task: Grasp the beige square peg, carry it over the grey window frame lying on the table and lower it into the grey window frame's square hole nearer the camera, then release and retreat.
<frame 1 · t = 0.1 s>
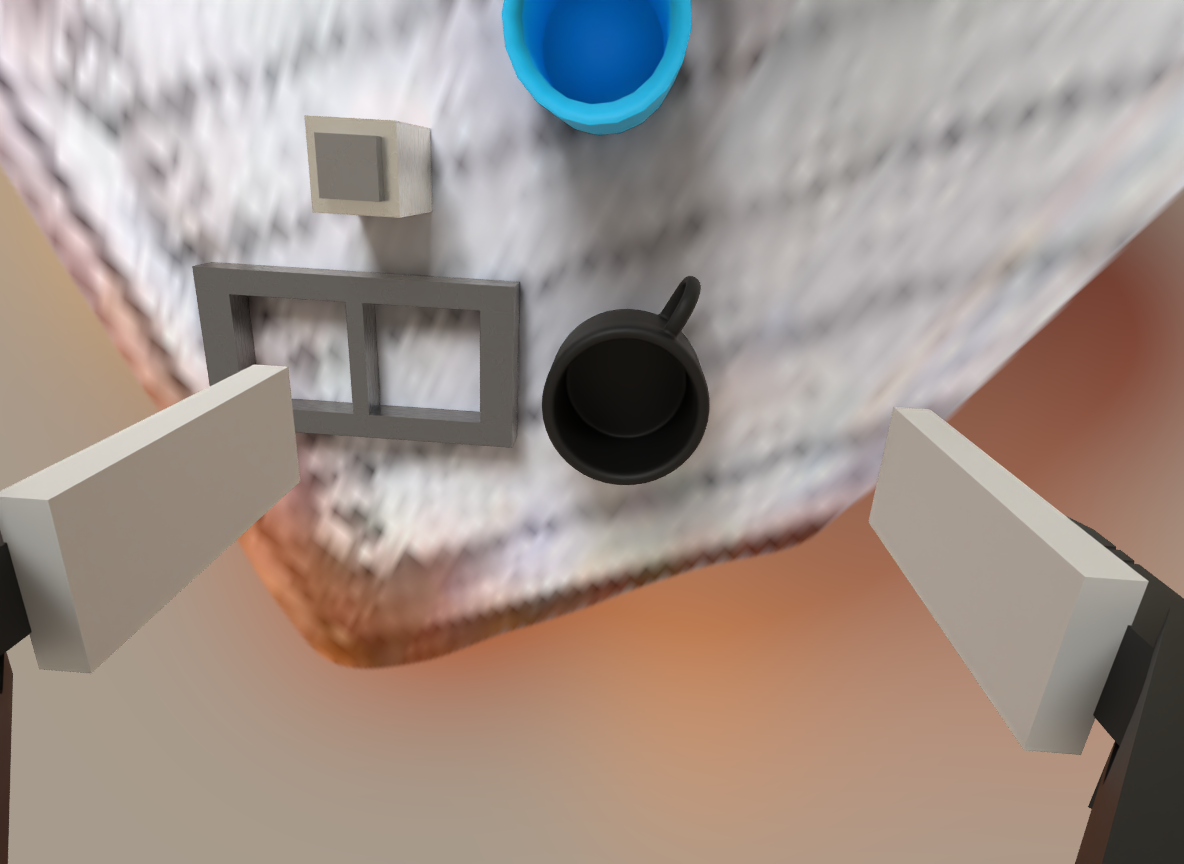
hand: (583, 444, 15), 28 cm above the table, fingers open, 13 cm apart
grey window frame: (369, 352, 44), on the table
mug: (627, 22, 37), on the table
beige square peg: (392, 168, 40), on the table
mug 2: (638, 353, 43), on the table
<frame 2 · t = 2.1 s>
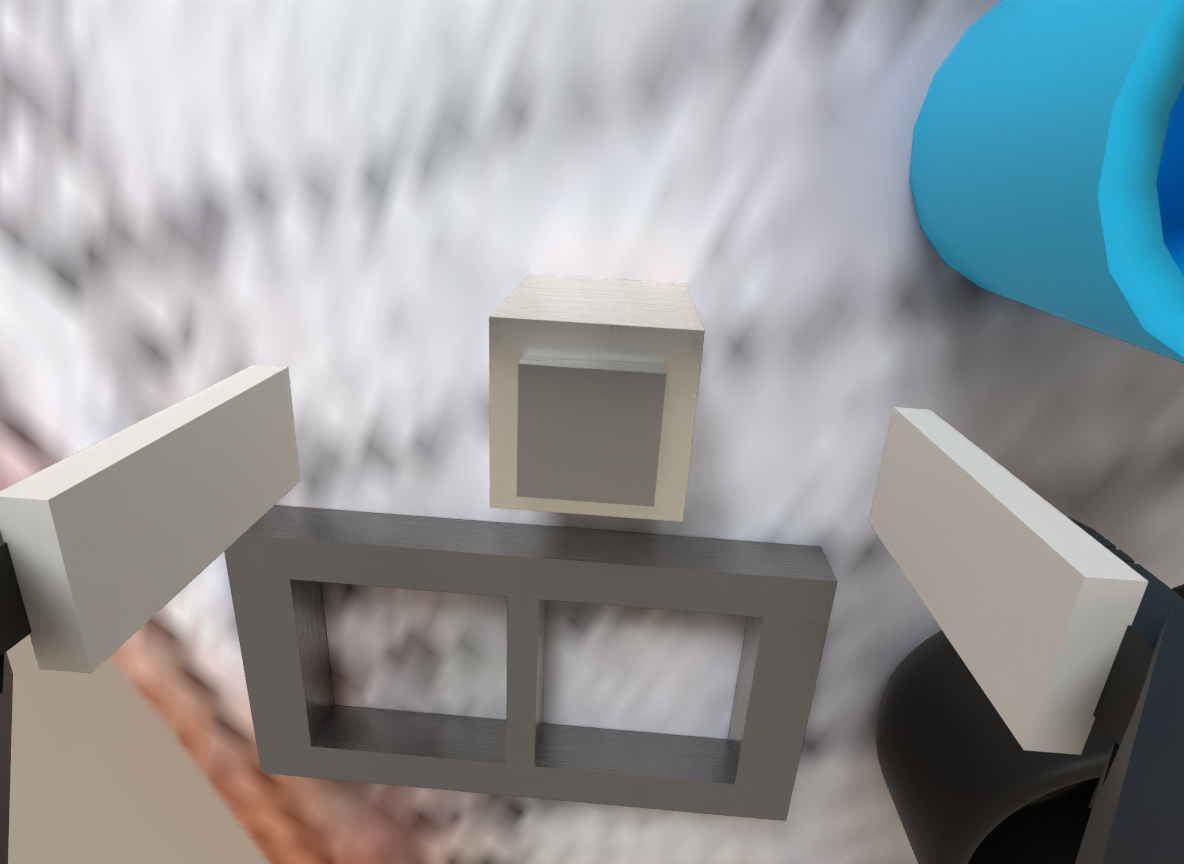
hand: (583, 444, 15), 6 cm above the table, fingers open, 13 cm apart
grey window frame: (530, 647, 25), on the table
mug: (1132, 79, 18), on the table
beige square peg: (603, 353, 21), on the table
mug 2: (1016, 658, 24), on the table
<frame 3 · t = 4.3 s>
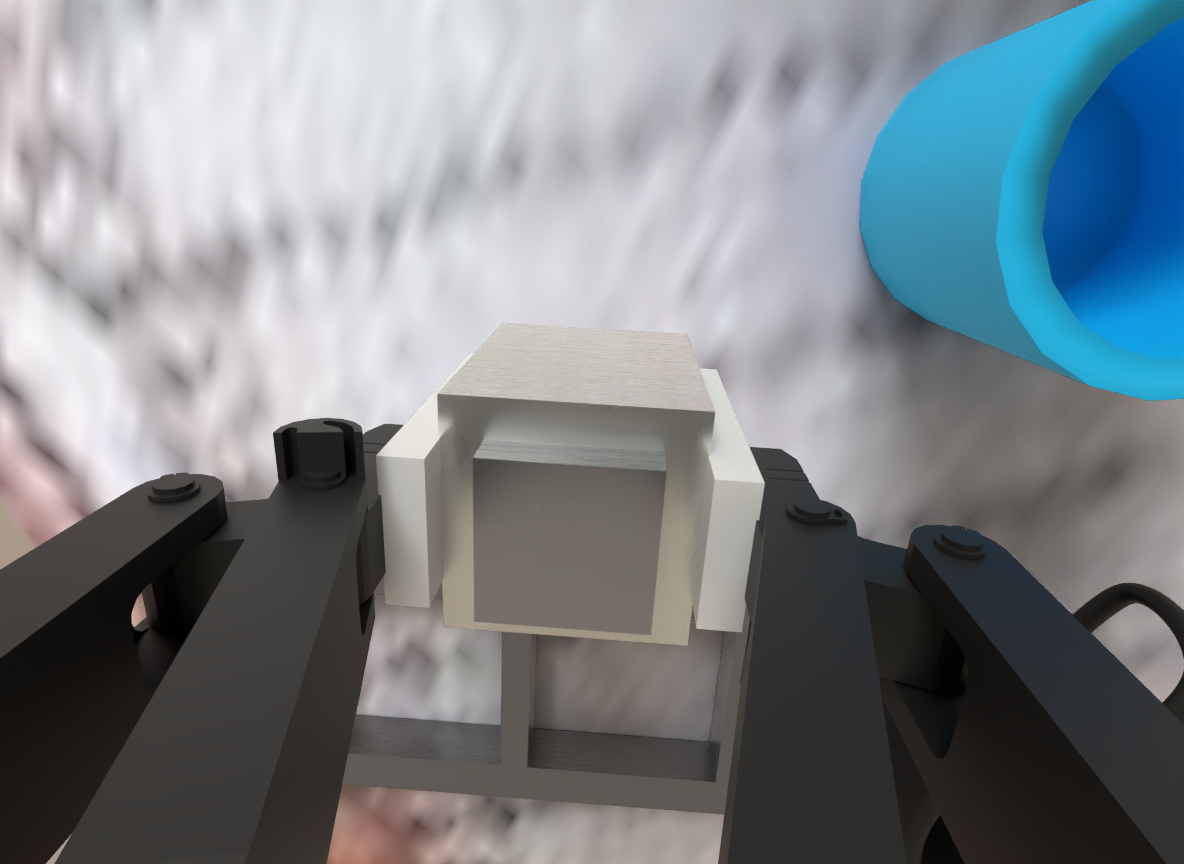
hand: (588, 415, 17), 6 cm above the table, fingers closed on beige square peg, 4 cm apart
grey window frame: (523, 653, 26), on the table
mug: (1047, 140, 20), on the table
beige square peg: (589, 416, 18), point 5 cm above the table, touching gripper
mug 2: (973, 660, 26), on the table
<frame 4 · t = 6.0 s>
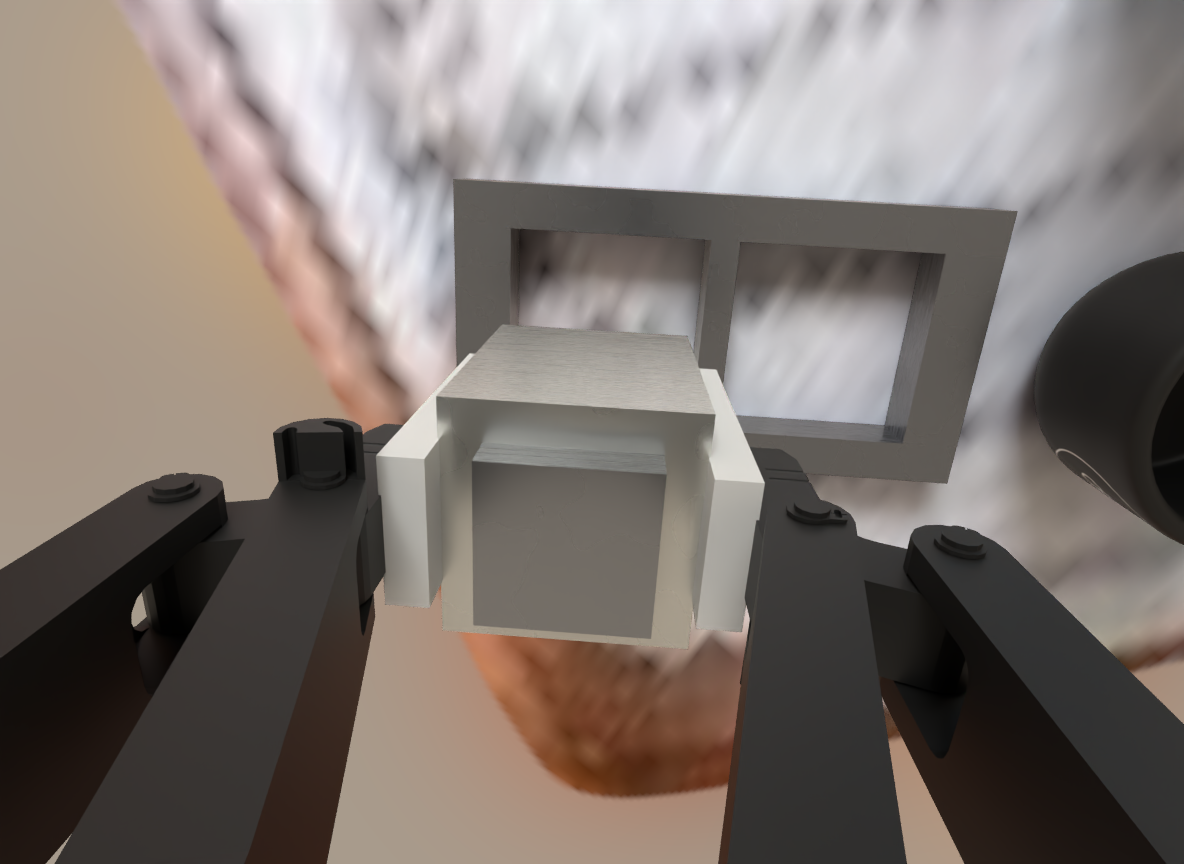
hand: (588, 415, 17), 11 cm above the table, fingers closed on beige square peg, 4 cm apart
grey window frame: (708, 328, 27), on the table
beige square peg: (589, 418, 17), point 10 cm above the table, touching gripper
mug 2: (1158, 329, 26), on the table
when the fingers open (2 cm above the table, at t = 7.6 s): beige square peg drops 2 cm, resting in grey window frame.
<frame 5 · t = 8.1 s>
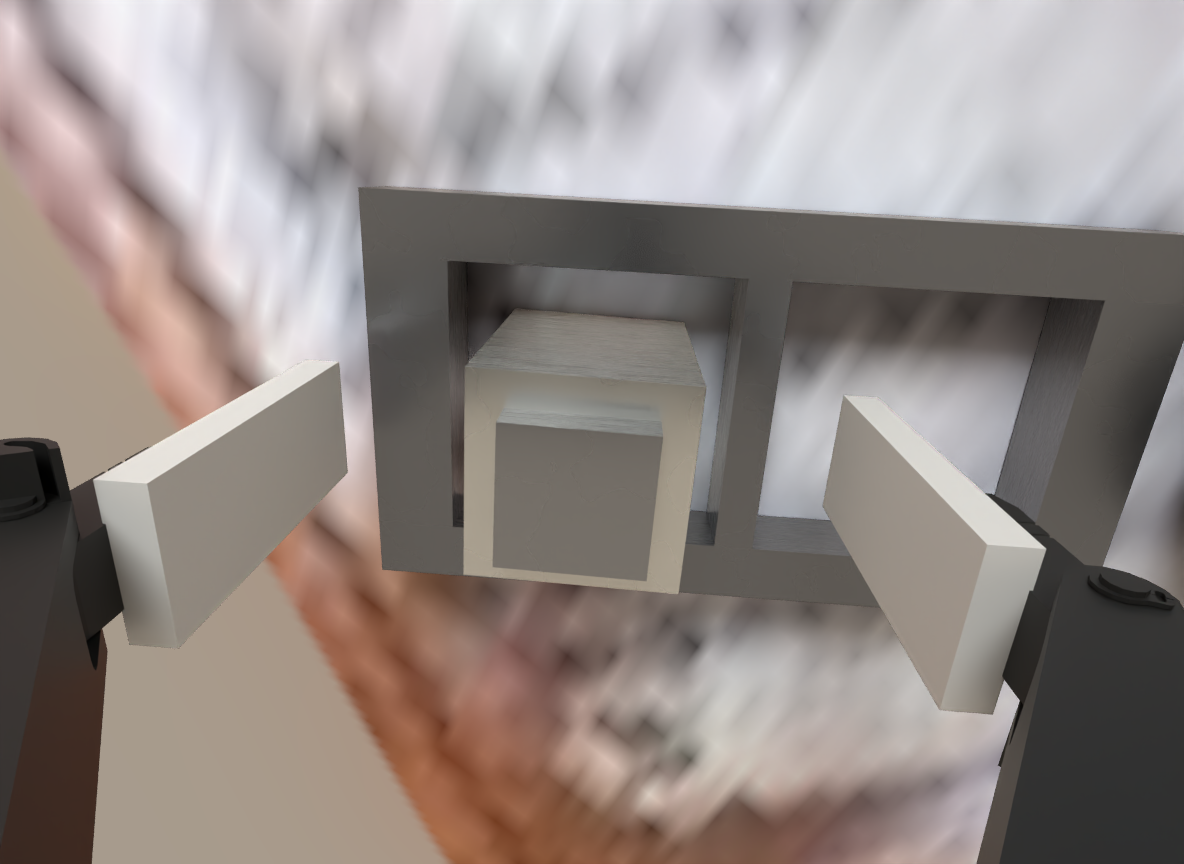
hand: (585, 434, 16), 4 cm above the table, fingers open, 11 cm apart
grey window frame: (739, 398, 19), on the table
beige square peg: (593, 395, 19), resting in grey window frame
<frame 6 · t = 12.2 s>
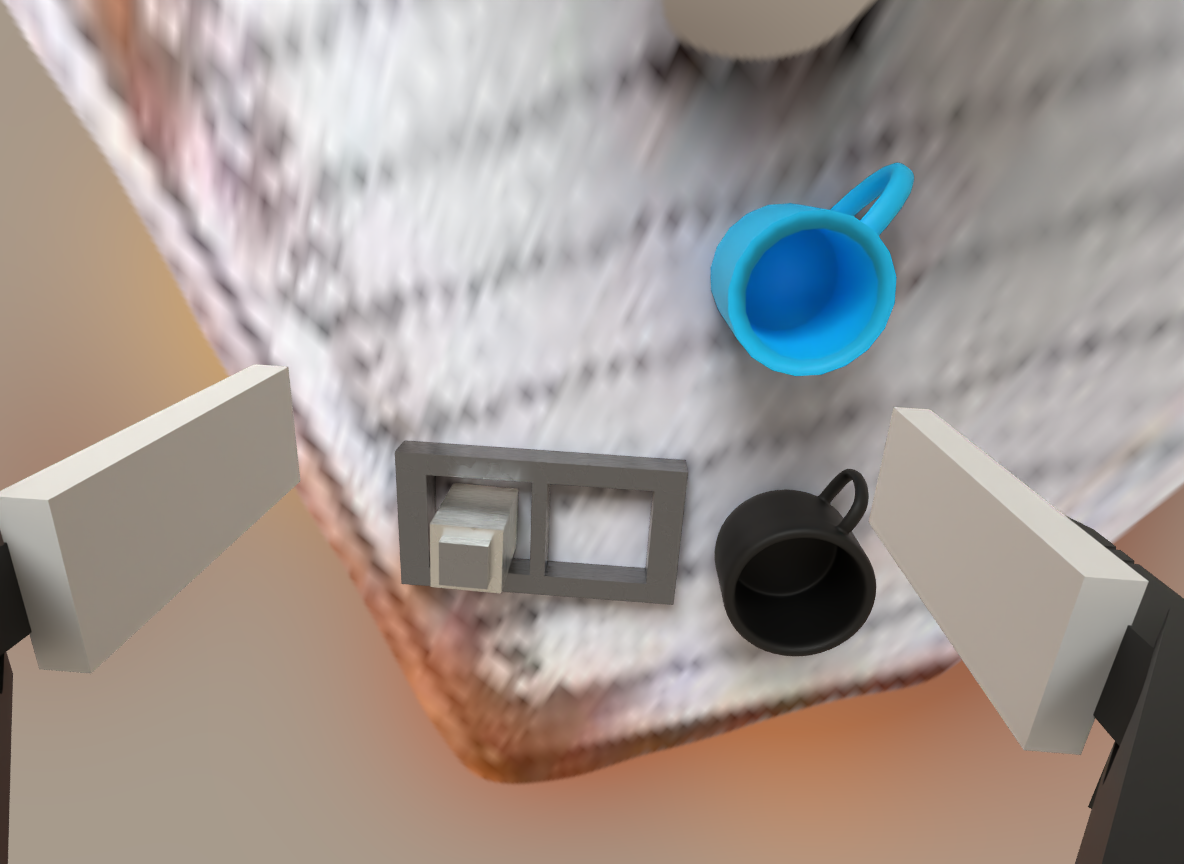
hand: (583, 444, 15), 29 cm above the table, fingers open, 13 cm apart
grey window frame: (542, 516, 48), on the table
mug: (801, 249, 41), on the table
beige square peg: (485, 514, 48), resting in grey window frame
mug 2: (788, 519, 47), on the table
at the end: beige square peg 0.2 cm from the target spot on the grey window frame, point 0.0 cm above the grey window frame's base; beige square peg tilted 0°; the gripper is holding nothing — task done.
